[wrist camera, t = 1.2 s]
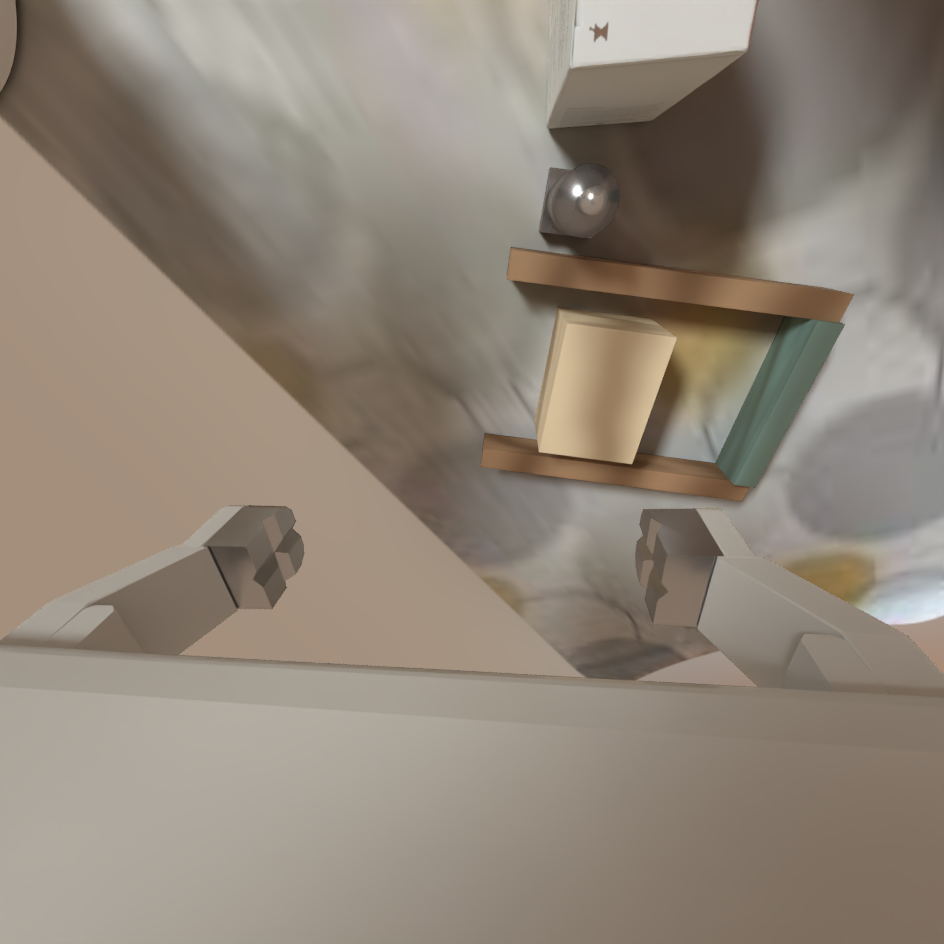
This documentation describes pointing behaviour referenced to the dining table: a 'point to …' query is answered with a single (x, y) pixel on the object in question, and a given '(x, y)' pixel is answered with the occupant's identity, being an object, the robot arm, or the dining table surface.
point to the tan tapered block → (600, 384)
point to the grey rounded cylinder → (579, 201)
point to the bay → (765, 407)
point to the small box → (637, 55)
